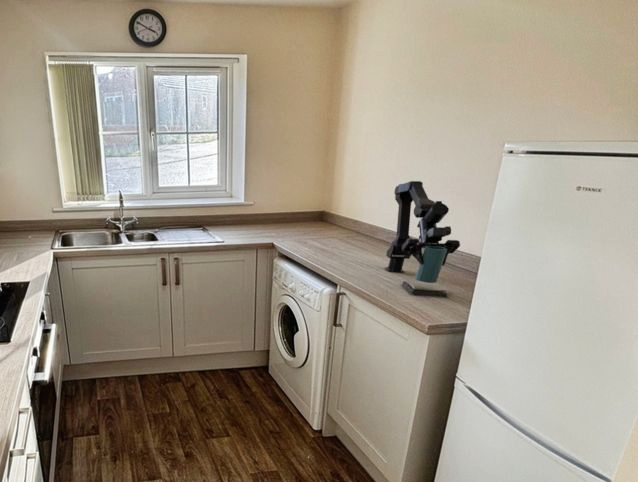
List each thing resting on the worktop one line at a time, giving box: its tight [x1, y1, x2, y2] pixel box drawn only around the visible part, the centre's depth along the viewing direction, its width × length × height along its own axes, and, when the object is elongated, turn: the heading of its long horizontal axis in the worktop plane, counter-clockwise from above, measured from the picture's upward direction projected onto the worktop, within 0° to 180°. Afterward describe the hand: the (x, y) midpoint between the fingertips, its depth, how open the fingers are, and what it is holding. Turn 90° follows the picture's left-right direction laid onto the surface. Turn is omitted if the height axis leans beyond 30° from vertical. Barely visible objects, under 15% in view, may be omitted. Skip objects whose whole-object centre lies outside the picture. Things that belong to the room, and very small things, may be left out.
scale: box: [401, 280, 448, 298], centre depth 181 cm, size 14×12×2 cm
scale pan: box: [406, 280, 447, 293], centre depth 180 cm, size 11×11×1 cm
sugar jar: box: [415, 246, 447, 283], centre depth 177 cm, size 7×7×13 cm
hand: (432, 264), depth 175 cm, fingers closed on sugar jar, 7 cm apart
